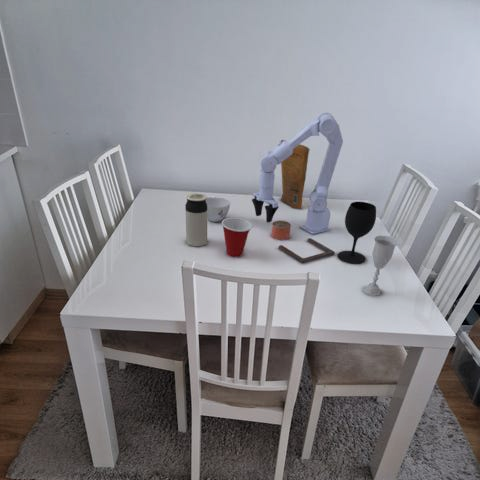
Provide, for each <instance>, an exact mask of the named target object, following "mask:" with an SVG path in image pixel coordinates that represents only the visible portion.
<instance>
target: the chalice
mask: <svg viewBox="0 0 480 480" xmlns="http://www.w3.org/2000/svg"><path fill="white" fill-rule="evenodd" d="M398 243H399V242H398V240H396V239H395V238H393V237H392V236H388V235H377V236H375V237H374V246H373V250H372V261H373V266H374V268H376V270H375V271H374V276H373V277H372V280H373V281H372V282H370V283H368V284H367V286H366V287H365V288H364V289H363V290H364V292H365V293H366V294H367V295H370V296H379V295H381V291H380V286H379V284H377V282H378V280H379V275H380V271H381V270H383V269H384V268H385V267H386V266H387V265H388V264H389V262H390V261H391V259H393V254H394V251H395V249H396V246H397V245H398Z"/></svg>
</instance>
